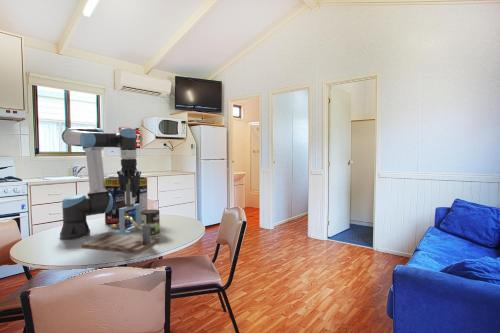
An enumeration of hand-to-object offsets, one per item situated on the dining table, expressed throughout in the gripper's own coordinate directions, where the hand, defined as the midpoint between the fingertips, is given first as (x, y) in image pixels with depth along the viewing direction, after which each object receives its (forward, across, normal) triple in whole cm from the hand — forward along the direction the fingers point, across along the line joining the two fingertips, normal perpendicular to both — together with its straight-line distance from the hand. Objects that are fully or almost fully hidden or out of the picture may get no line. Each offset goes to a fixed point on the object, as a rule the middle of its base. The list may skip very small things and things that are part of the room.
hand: (130, 203), depth 148 cm
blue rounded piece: (+22, -19, +28) cm, 41 cm away
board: (+22, -6, 0) cm, 23 cm away
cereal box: (+22, -34, +39) cm, 57 cm away
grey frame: (+14, 0, 0) cm, 14 cm away
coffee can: (+22, -1, +19) cm, 29 cm away
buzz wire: (+21, -1, 0) cm, 21 cm away
